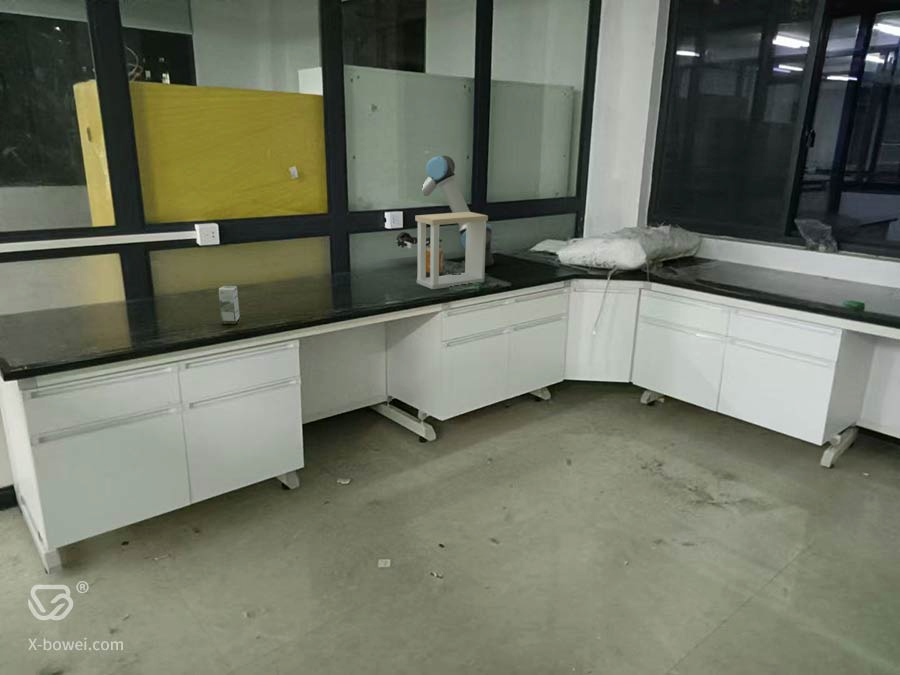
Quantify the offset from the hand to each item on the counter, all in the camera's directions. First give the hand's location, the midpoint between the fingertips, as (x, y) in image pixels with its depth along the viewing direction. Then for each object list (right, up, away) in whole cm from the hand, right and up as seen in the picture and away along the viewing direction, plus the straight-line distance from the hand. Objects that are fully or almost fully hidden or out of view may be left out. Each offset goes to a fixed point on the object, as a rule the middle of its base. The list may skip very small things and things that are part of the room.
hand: (422, 245), depth 337 cm
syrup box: (-72, -44, -87) cm, 121 cm away
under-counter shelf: (+15, -21, -17) cm, 31 cm away
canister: (+6, -17, -3) cm, 18 cm away
